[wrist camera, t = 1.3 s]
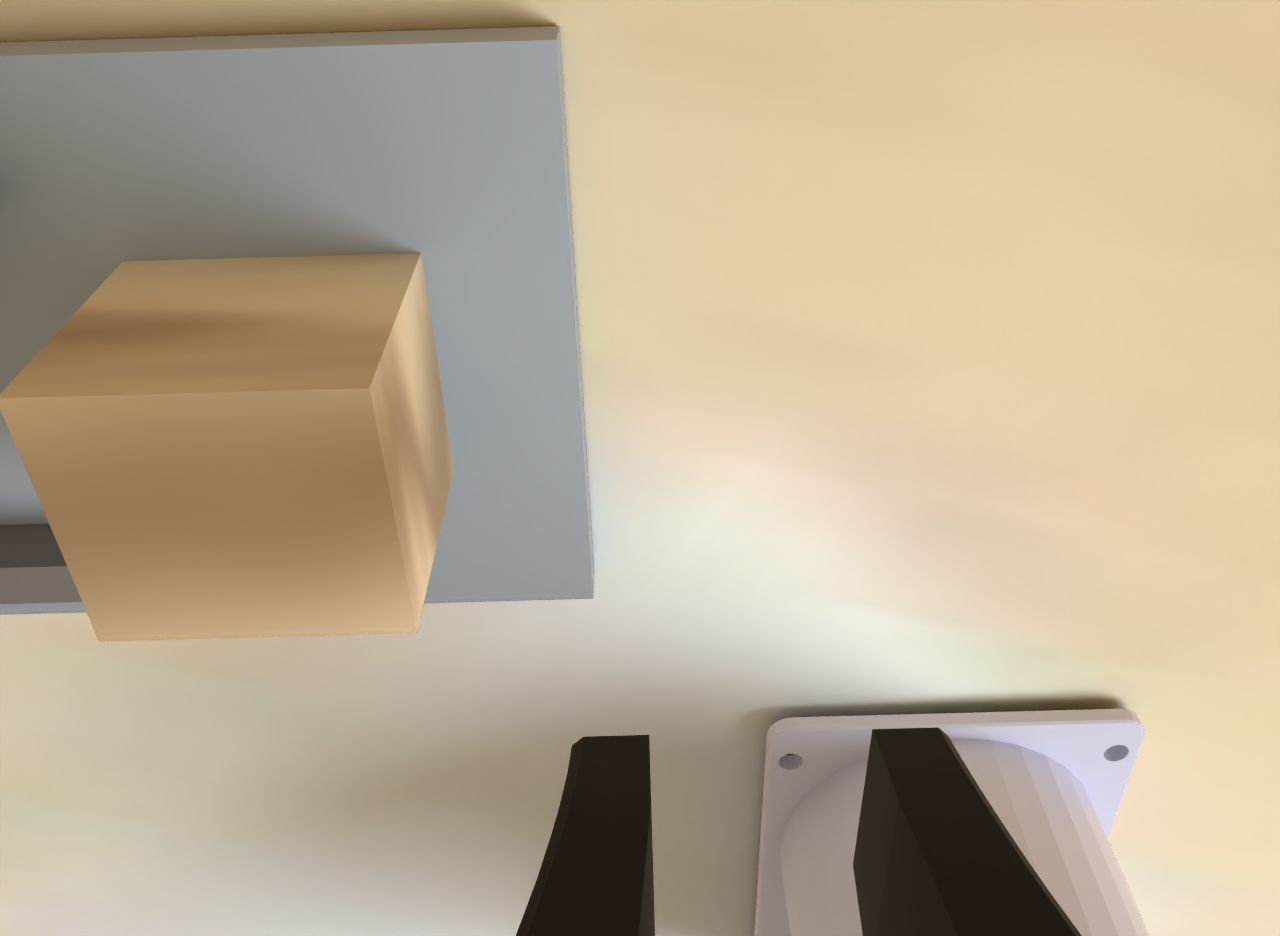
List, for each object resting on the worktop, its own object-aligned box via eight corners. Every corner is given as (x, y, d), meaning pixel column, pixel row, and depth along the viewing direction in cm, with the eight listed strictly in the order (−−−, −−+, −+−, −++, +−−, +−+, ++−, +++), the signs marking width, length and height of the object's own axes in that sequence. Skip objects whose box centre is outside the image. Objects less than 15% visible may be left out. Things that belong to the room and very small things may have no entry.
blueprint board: (594, 570, 21) (591, 643, 19) (-178, 592, 21) (-247, 665, 19) (559, 25, 15) (551, 62, 14) (-502, 56, 15) (-638, 97, 14)
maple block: (453, 470, 19) (416, 633, 15) (192, 477, 19) (99, 641, 15) (420, 252, 16) (369, 388, 13) (122, 261, 16) (-5, 398, 13)
